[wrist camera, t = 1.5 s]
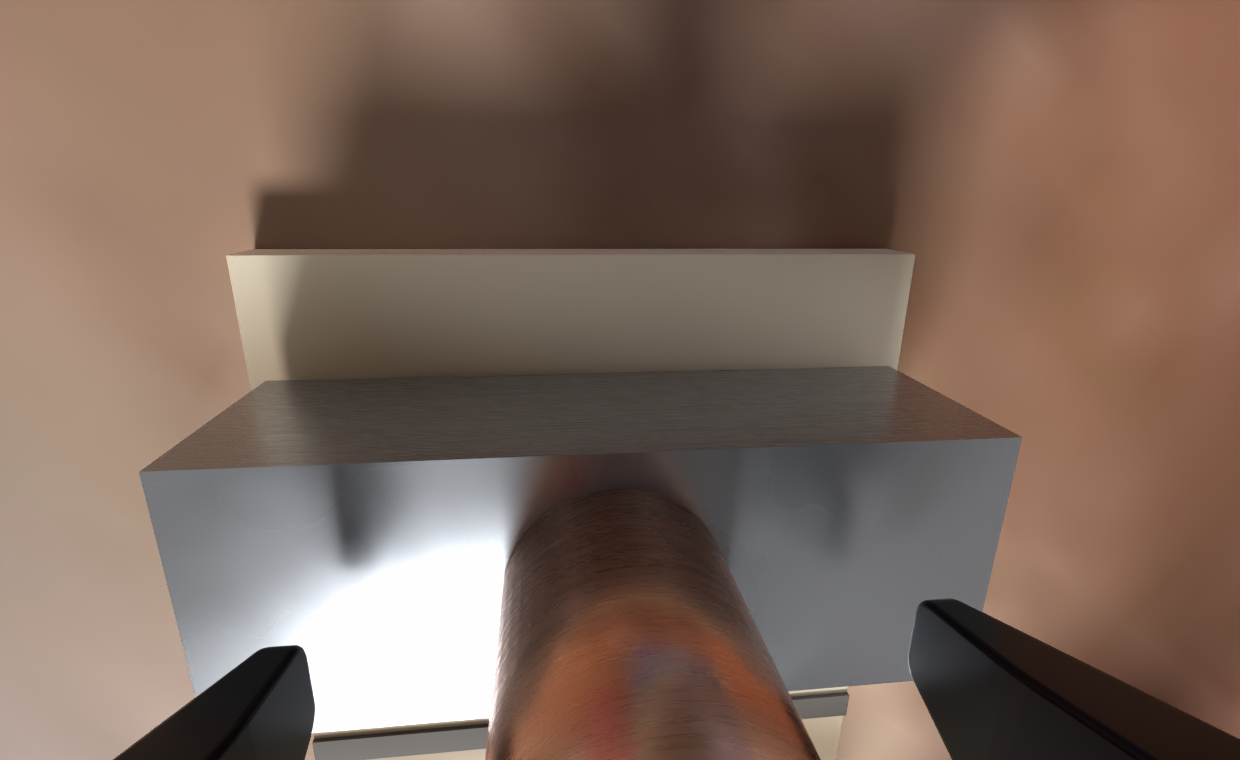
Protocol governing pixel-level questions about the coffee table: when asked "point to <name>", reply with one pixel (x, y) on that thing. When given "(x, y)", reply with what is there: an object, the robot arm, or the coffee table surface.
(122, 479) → the coffee table surface
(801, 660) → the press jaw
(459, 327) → the press base
